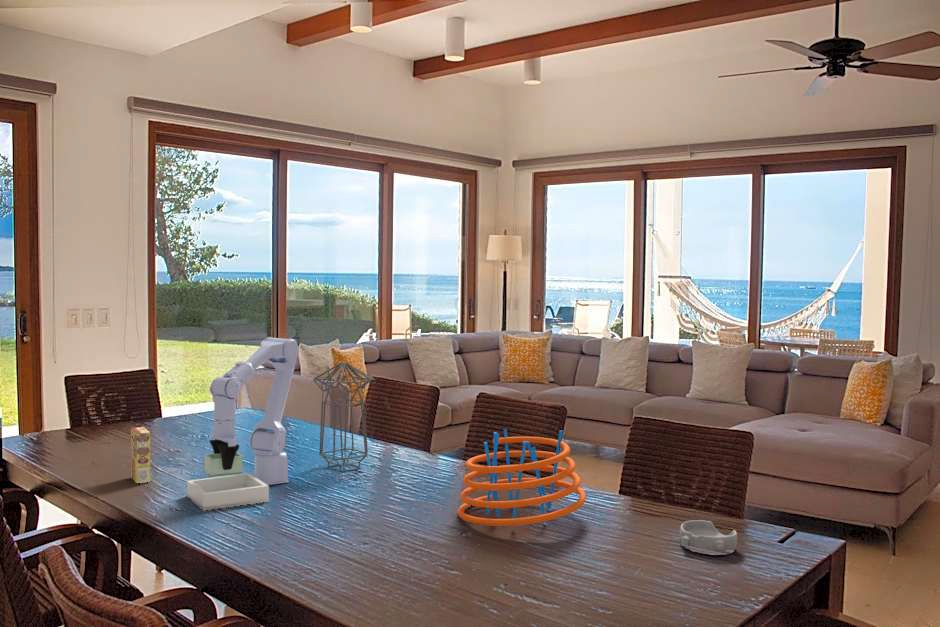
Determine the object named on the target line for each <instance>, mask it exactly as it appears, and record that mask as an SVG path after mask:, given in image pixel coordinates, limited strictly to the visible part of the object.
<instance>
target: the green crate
mask: <svg viewBox="0 0 940 627" xmlns="http://www.w3.org/2000/svg"><path fill="white" fill-rule="evenodd" d="M243 457H244V456H243V455H242V454H241V453H239V452H238V451H237V452H236V454H235V457H234V461H233V465H232V468H231V469H229V470H224V469H223V466H222V457H221V453H217V454H214V453H209V454H207V453H206V454H204V466H203V467H204V468H203V470H204V471H203V472H204V473H205V474H206V475H207V476H209V478H213V477H222V476H230V475H238V474H243V459H244V458H243Z"/></svg>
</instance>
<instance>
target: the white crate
mask: <svg viewBox="0 0 940 627" xmlns="http://www.w3.org/2000/svg"><path fill="white" fill-rule="evenodd" d="M269 497H270V485H267V484H265V483H264V482H262V481H261V480H259V479H257V478H256V477H255V475H252V474H251V473H249V472H248V473H247V472H246V473H241V474H233V475H224V476H215V477H207V478H197V479H190V480H186V498H188V499H189V498H190V499H191V500H192V501H191V500H190V499H189V500H190V501H191V502H192V503H193V504H195V505H196V506H197V505H198V506H199V507H198V506H197V507H198V508H199V509H201V510H202V512H207V511H206V510H208V511H213V510H212V509H215V510H219V509H218V508H222V509H228V507H229V508H234V506H236V507H241V506H240V505H243V506H248V505H247V504H250V505H257V504H262V503H263V502H264V503H268V502H270V498H269ZM256 503H257V504H256ZM226 507H227V508H226Z"/></svg>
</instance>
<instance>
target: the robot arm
mask: <svg viewBox="0 0 940 627" xmlns="http://www.w3.org/2000/svg"><path fill="white" fill-rule="evenodd" d="M299 353H300V348H299V346H298V343H297V341H296V340H295V339H293V338H281V337H273V336H267V337H266V338H264V340H262V341H260V345H259V348H257V350H255V352H254V353H253V354H252V355H251V356H250V357H249V358H248V359H247V360H246V361H243V360H242V361H241V360H240V361H237V362H236V363H235V364H234V366H233V367H231V368H230V369H229V370H228V371H226V372H225V373H224V374H223V375H222V376H217V377H215V378H214V379H213V381H212V382H211V384H210V386H209V393H210V395H211V396H212V403H213V405H214V408H213V409H214V410H213V411H214V412H213V430H212V431H213V432H212V434H211V435H209V439H210V440H209V444H210V445H211V448H212V450H213V454H217V453H221V457H222V466H223V469H224V470H229V469H231V468H232V465H233V461H234V457H235V454H236V452H238V450H239V449H240V445H239V444H237V439H236V437H237V436H236V398H237V397H238V396H239V395H240V393H241V390H242V388H243V386H244V385H245V384H246V383H247V382H249V380H251V379H252V378H253V376H255V370H256V369H258V368H259V367H260V366H262V365H263V364H264V363H265V362H269V364H270V365H272V366H273V367H274V370H275V372H274V375H273V379H272V383H271V387H270V391H269V395H268V399H267V403H266V407H265V410H264V415H263V418H262V419H261V420H260V421H259V422H257V423H255V425H254V428H253V431H252V432H251V433H250V436H249V439H248V444H249V447H250V449H251V450H252V453H253V454H254V477H256V478H257V479H259V480H261V481H262V482H264V483H265V484H267V485H268V486H271V485H278V484H285V483H289V479H288V472H289V463H288V455H287V453H286V452H285V451H283V450H284V449H285V446H286V435H287V434H286V433H287V430H286V429H285V427H284V426H283V424H282V419H283V415H284V410H285V407H286V404H287V400H288V396H289V390H290V387H291V383H292V379H293V377H294V376H293V375H294V371H295V368H296V364H297V360H298V356H299Z"/></svg>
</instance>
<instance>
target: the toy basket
mask: <svg viewBox="0 0 940 627" xmlns="http://www.w3.org/2000/svg"><path fill="white" fill-rule="evenodd" d="M503 436H504V437H500V433H498V432H496V431H494V432H493V438H492V444H493V452H490V451H489V446H488V444H489V443H488V442H487V441H484V442H483V445H484V451H485V453H484V454H479V455H476V456H473V457H471V458H469V459H467V461H465V467H466V469H468V470H469V471H472V472H469V473H467V474H465V475H464V477H463V479H462V482H463V484H464V485H465V487H467V488H465V489H464V490H463V491H461V492H460V499H461V501H462V502H463V504H461V505H460V506H459V508H458V510H457V515H458V516H459V519H461V520H462V521H465V522H467V523H470V524H474V525H479V526H491V527H492V526H493V527H510V526H524V525H530V524H537V523H543V522H545V523H547V521H552V520H556V519H559V518H562V517H564V516H567V515H570V514H572V513H573V512H576V511H577V510H579V509H580V508H582V506H583V505H584V504H585V503H586V501H587V500H586V499H587V494H586V492H585V490H583V489H582V488H581V487H580V486H581V484H582V483H581V482H582V480H581V478H580V476H579V475H578V474H577V473H576V472H575V470H576V463H575V461H574V459H572V458H571V457H570V454H571V447H570V446H569V445H568V444H567V443H566V442H564V441H562V437H563V430H559V431H558V437H557V439H554V438H549V437H548V438H547V437H543V436H542V437H541V436H508V430H507V428H503ZM514 443H515V444H517V443H518V444H519V443H522V449H521V450H509V444H514ZM531 443H532V444H543V445H550V446H555V447H556V450H555V452H552V451H543V450H536V446H531ZM501 444H504V448H505V449H504V450H505V451H504V450H503V451H498V447H499V445H501ZM526 449H528V450H526ZM560 449H562V450H563V451H562V452H560V451H561V450H560ZM514 457H520V461H519V464H511V463H510V462H511V461H510V458H514ZM525 457H530V459H531V461H532V462H526V463H524V462H525ZM501 458H506V464H505V465H504V464H503V465H498V459H501ZM538 458H545V459H543V460H538ZM491 460H492V462H491ZM483 461H486V462H487V465H479V464H477V463H480V462H483ZM559 462H563V463H566V464H567V465H568V467H567V468H564V467H560V466H558V463H559ZM524 471H535V476H536V478H535V477H522V476H523V472H524ZM515 472H516V473H517V472H518V477H517V478H514V477H513V478H512V474H511V473H515ZM540 472H548V473H549V472H550V473H552V475H550V476H545V477H541V475H540V474H541V473H540ZM503 473H507V478H504V479H498V474H503ZM484 475H489V481H483V482H476V481H472V479H474V478H477V477H480V476H484ZM567 477H569V478H571V479H573V481H574V482H573V483H571V482H567V481H562V480H563V479H565V478H567ZM545 486H550V490H549V494H547V492H546V490H545ZM536 487H537V489H538V490H537V491H538V496H537V497H532V498H526V499H524V498H523V499H519V498H520V490H522V489H529V488H536ZM555 487H559V488H563V489H562V490H559V491H557V492H554V488H555ZM480 490H482V491H487V495H484V496H480V497H477V498H471V497H469V495H470V494H472V493H474V492H477V491H480ZM513 490H516V491H515V497H514V494H513V493H514V492H513ZM498 491H509V493H508V494H509V500H500V501H499V500H498ZM574 492H575V493H576V494H577V495H578V496H579V498H578V500H577V501H575V502H574V503H572V504H571V505H568V506H567V507H565V508H561V509H559V510H556V511H551V512H548V513H546V510H545V506H546V508H547V510H548V509H551V510H552V504H553V501H557V500H559V499H563V498H565V497H568V496H570V495H572V493H574ZM490 499H493V500H492V501H490ZM483 500H487V501H483ZM470 505H472V507H478V508H485V511H484V515H485V514H488V515H489V509H494V512H495V517H497V518H483V517H477V516H472V515H470V514H467V513H465V511H466V510H467V509H466V508H467V507H468V506H470ZM536 505H540V510H541V514H539V515H533V516H527V517H518V518H517V512H518V511H517V510H518V508H523V507H530V506H536ZM465 509H466V510H465ZM499 509H513V510H512V516H511V518H498V517H500V511H499Z"/></svg>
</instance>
